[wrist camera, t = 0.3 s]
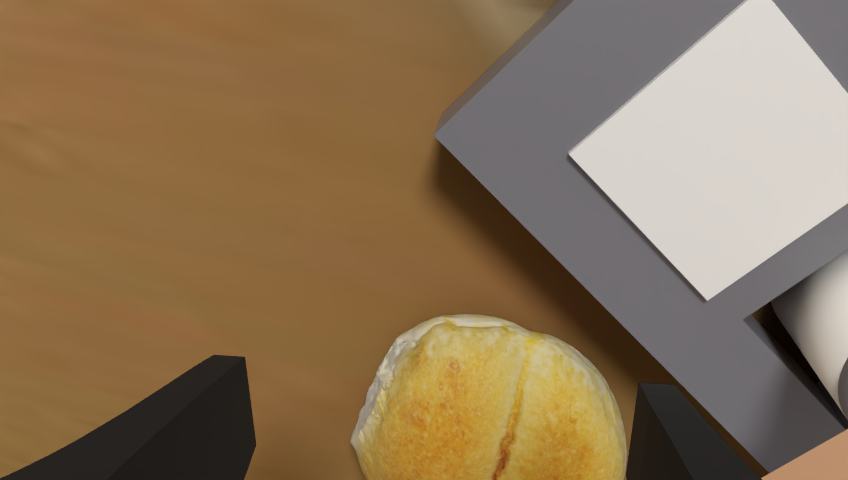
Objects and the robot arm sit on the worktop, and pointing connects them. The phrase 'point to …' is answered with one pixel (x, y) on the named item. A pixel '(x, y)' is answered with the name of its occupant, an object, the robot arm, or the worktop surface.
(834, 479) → the tan long bar
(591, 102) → the socket panel
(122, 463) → the robot arm
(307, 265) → the worktop surface
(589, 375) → the bread roll
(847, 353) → the plug
